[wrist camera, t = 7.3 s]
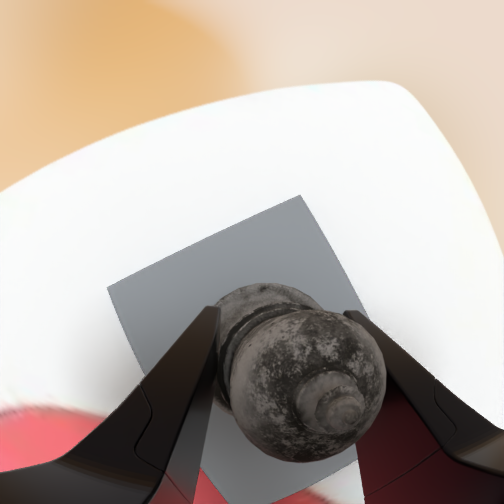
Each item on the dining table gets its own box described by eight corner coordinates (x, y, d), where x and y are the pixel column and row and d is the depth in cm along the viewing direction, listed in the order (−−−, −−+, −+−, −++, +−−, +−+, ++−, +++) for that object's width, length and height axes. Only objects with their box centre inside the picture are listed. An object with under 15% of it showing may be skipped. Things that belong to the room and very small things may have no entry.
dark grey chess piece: (330, 316, 15) (524, 271, 3) (290, 416, 13) (407, 566, 2) (228, 275, 15) (214, 115, 4) (185, 378, 14) (59, 497, 2)
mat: (410, 416, 16) (413, 418, 15) (238, 512, 13) (238, 515, 13) (298, 197, 19) (300, 194, 19) (109, 288, 17) (106, 287, 17)
